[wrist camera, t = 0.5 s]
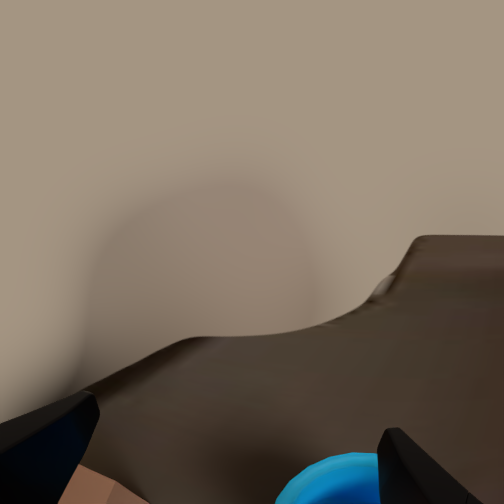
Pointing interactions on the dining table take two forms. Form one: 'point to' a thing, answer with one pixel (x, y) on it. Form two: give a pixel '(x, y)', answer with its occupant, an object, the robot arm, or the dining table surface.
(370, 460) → the mug
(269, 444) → the dining table surface
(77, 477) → the tan cube
